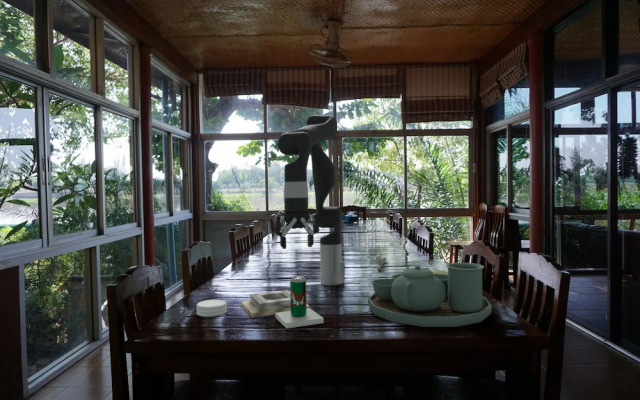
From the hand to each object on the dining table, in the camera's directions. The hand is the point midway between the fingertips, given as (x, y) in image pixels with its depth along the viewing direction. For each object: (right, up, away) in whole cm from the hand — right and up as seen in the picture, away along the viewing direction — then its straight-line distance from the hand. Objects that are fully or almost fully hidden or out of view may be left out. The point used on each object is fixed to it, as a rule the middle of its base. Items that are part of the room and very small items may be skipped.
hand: (297, 247), depth 138 cm
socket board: (-9, -23, +15) cm, 29 cm away
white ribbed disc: (-30, -24, +11) cm, 40 cm away
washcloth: (+57, -21, +55) cm, 82 cm away
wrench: (+39, -20, +88) cm, 99 cm away
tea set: (+43, -22, +10) cm, 50 cm away
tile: (0, -23, +1) cm, 23 cm away
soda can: (0, -22, +1) cm, 22 cm away
